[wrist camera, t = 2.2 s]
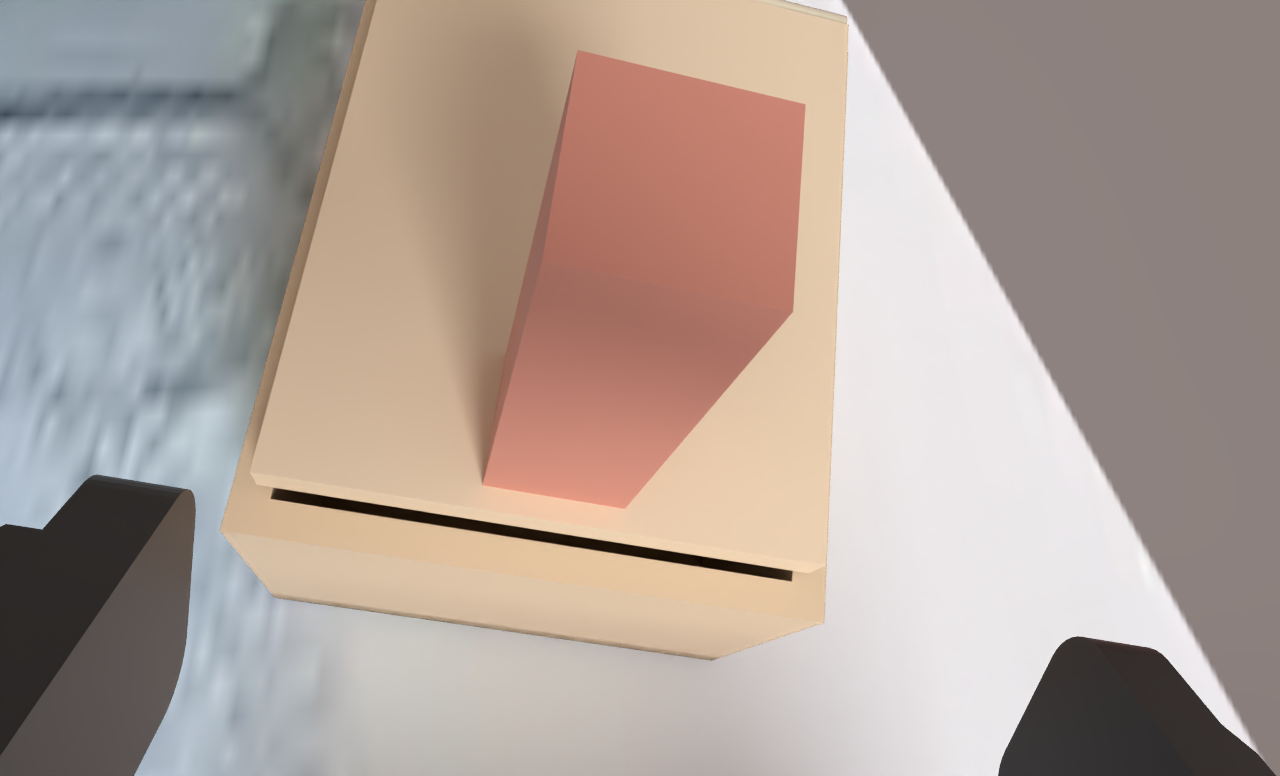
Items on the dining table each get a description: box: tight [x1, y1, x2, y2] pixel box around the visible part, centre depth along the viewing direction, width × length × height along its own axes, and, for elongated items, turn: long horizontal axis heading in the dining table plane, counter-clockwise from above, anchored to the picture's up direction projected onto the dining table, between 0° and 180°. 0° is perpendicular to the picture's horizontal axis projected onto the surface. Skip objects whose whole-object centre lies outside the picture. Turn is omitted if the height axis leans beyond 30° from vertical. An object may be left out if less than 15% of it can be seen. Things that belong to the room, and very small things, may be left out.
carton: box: [220, 0, 848, 660], centre depth 28 cm, size 16×13×9 cm
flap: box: [250, 0, 849, 573], centre depth 19 cm, size 15×12×11 cm
